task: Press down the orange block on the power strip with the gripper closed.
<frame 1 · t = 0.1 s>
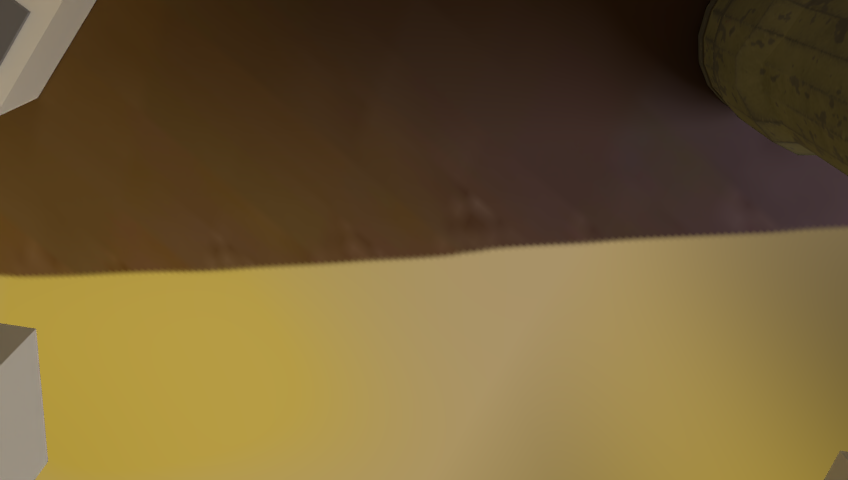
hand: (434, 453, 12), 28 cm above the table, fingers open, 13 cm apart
thermos: (782, 34, 36), on the table
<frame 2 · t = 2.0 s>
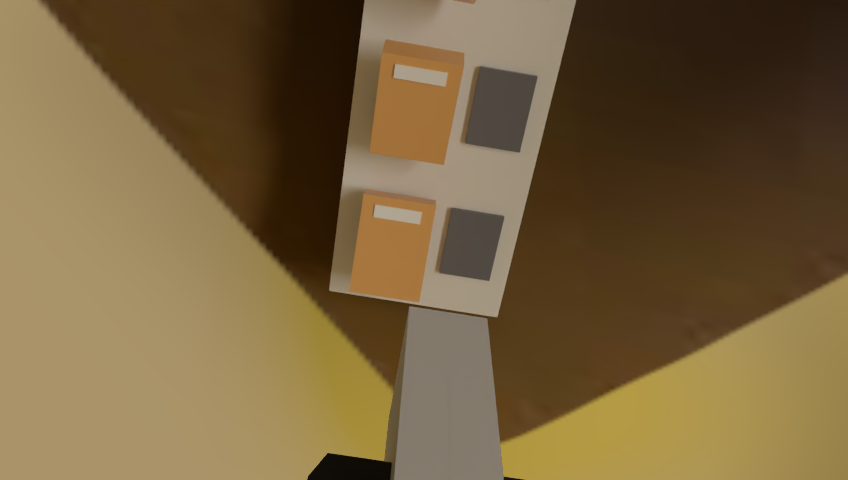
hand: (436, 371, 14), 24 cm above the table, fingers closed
power strip: (450, 81, 36), on the table
rocker 3: (392, 245, 33), point 6 cm above the table, hinge at -12.0°
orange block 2: (415, 104, 30), point 6 cm above the table, hinge at 12.0°
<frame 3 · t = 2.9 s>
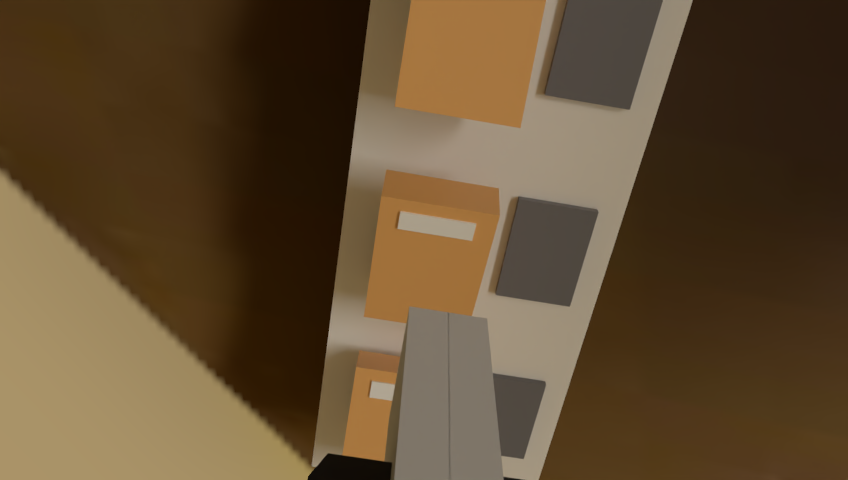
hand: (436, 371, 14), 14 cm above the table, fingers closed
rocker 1: (472, 25, 19), point 6 cm above the table, hinge at -12.0°
power strip: (472, 194, 27), on the table
rocker 3: (395, 428, 25), point 6 cm above the table, hinge at -12.0°
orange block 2: (428, 255, 22), point 6 cm above the table, hinge at 12.0°
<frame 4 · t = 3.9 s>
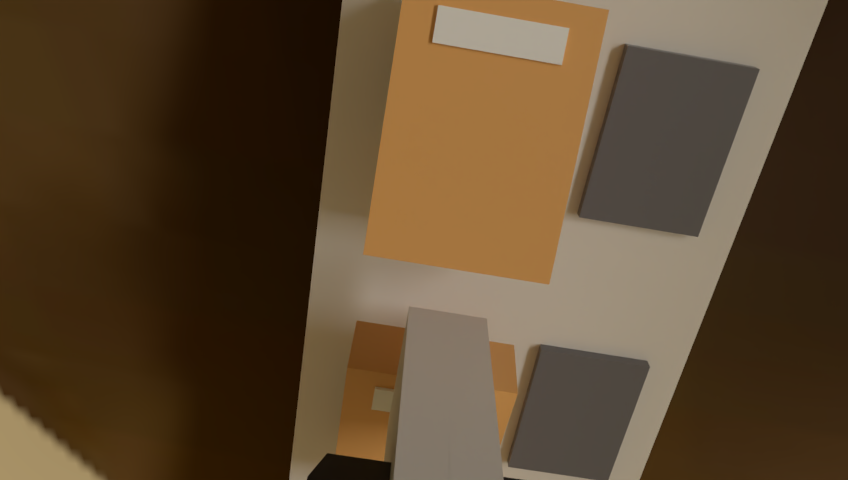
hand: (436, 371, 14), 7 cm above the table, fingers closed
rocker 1: (478, 133, 13), point 6 cm above the table, hinge at -12.0°
power strip: (476, 314, 21), on the table
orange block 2: (416, 433, 16), point 6 cm above the table, hinge at 9.4°, touching gripper
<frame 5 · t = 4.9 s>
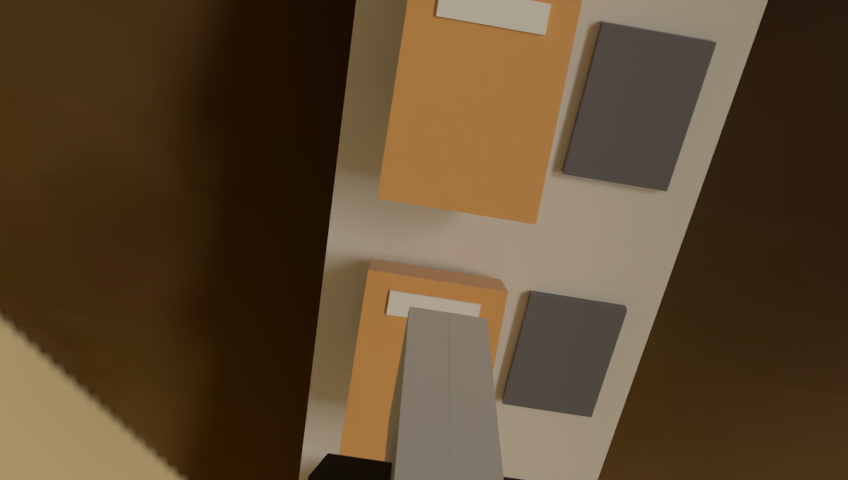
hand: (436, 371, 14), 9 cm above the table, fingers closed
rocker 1: (474, 96, 15), point 6 cm above the table, hinge at -12.0°
power strip: (474, 274, 23), on the table
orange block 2: (421, 366, 18), point 6 cm above the table, hinge at -15.6°
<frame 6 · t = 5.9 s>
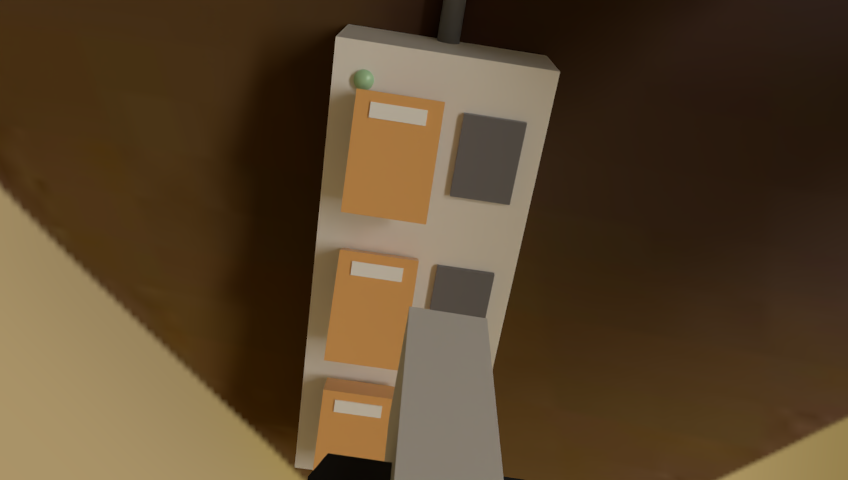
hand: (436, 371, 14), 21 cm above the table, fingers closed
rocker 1: (392, 156, 28), point 6 cm above the table, hinge at -12.0°
power strip: (413, 258, 36), on the table
rocker 3: (354, 434, 33), point 6 cm above the table, hinge at -12.0°
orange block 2: (371, 308, 30), point 6 cm above the table, hinge at -21.3°
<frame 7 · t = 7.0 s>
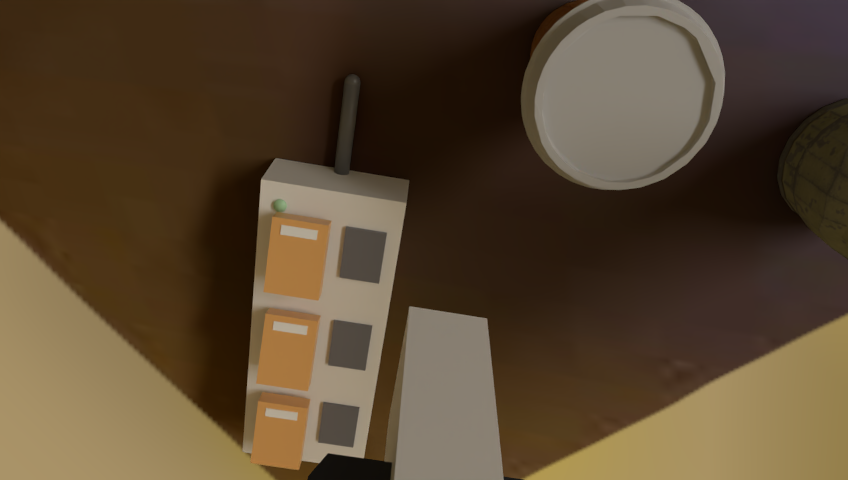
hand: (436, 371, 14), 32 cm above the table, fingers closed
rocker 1: (297, 256, 43), point 6 cm above the table, hinge at -12.0°
power strip: (325, 308, 51), on the table
thermos: (844, 162, 45), on the table
disposable coffee cup: (580, 52, 43), on the table
rocker 3: (280, 431, 49), point 6 cm above the table, hinge at -12.0°
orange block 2: (288, 349, 46), point 6 cm above the table, hinge at -16.2°
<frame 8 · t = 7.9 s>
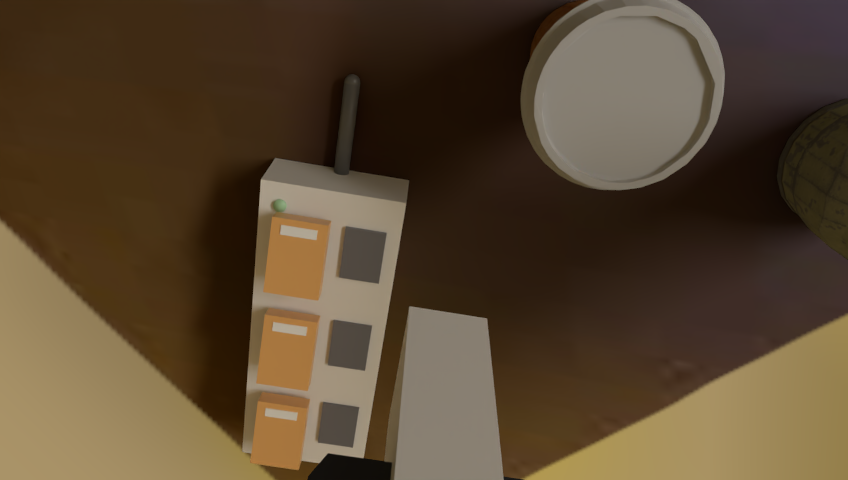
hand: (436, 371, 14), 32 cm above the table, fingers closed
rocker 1: (297, 256, 43), point 6 cm above the table, hinge at -12.0°
power strip: (325, 308, 51), on the table
thermos: (844, 162, 45), on the table
disposable coffee cup: (580, 52, 43), on the table
rocker 3: (280, 431, 49), point 6 cm above the table, hinge at -12.0°
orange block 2: (288, 349, 46), point 6 cm above the table, hinge at -13.5°
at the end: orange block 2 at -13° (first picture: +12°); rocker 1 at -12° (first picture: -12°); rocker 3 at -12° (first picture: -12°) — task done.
